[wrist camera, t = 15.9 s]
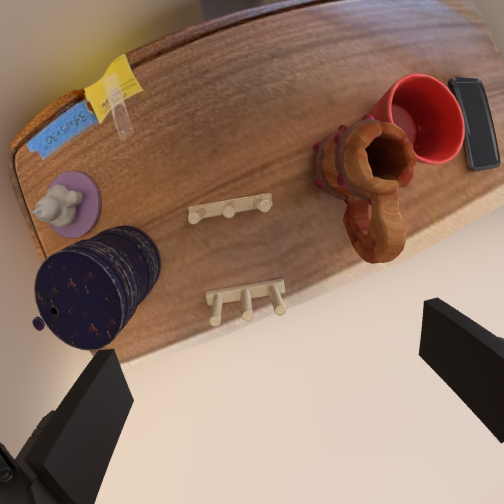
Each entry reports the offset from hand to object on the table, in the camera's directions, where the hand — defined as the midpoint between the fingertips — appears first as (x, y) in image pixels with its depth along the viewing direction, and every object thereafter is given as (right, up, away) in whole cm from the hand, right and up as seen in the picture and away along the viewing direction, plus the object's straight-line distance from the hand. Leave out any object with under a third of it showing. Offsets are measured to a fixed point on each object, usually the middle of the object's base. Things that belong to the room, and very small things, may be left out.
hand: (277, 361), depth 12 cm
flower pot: (+18, +21, +25) cm, 37 cm away
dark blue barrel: (-18, +3, +27) cm, 33 cm away
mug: (+10, +13, +27) cm, 31 cm away
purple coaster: (-25, +11, +25) cm, 37 cm away
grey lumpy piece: (-25, +11, +24) cm, 36 cm away
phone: (+34, +25, +25) cm, 49 cm away
